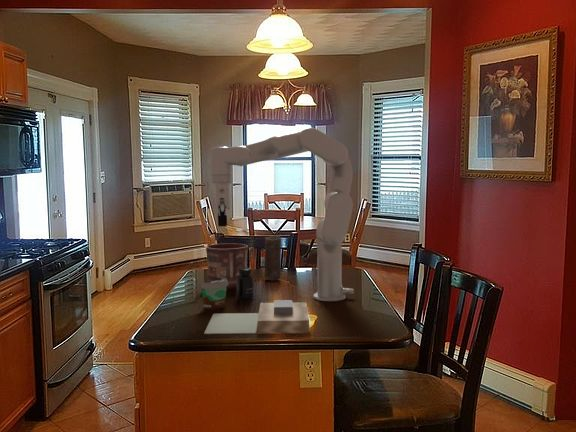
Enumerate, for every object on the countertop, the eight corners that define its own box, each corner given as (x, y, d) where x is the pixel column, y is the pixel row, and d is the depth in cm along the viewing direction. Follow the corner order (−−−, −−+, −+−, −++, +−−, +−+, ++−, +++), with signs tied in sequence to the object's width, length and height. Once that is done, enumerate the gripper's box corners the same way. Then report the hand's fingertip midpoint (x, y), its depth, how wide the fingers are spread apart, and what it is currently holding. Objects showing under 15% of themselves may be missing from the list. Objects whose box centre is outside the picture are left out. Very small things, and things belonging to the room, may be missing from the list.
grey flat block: (292, 307, 179) (292, 300, 179) (292, 314, 170) (292, 307, 170) (274, 307, 179) (274, 300, 179) (274, 314, 170) (273, 307, 170)
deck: (306, 313, 186) (306, 302, 185) (309, 333, 164) (309, 320, 163) (260, 314, 186) (260, 302, 185) (257, 333, 164) (257, 320, 163)
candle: (284, 280, 241) (283, 236, 240) (275, 283, 235) (274, 238, 233) (270, 278, 246) (269, 235, 244) (261, 281, 239) (260, 237, 238)
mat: (259, 314, 186) (259, 313, 186) (255, 333, 164) (255, 332, 164) (213, 314, 185) (213, 313, 185) (204, 334, 164) (204, 333, 164)
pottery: (238, 293, 217) (237, 249, 216) (199, 290, 223) (199, 247, 221) (254, 284, 234) (254, 244, 232) (218, 281, 239) (217, 242, 238)
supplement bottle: (251, 301, 203) (250, 270, 202) (234, 300, 205) (233, 270, 204) (256, 297, 210) (255, 267, 209) (239, 296, 211) (239, 266, 210)
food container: (214, 312, 189) (213, 284, 188) (201, 309, 192) (200, 282, 191) (235, 304, 199) (235, 278, 198) (222, 302, 202) (222, 276, 201)
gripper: (232, 180, 191) (233, 227, 193) (230, 179, 209) (231, 222, 210) (211, 180, 190) (212, 227, 192) (211, 179, 207) (212, 222, 209)
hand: (222, 224), depth 201 cm, fingers open, 9 cm apart
